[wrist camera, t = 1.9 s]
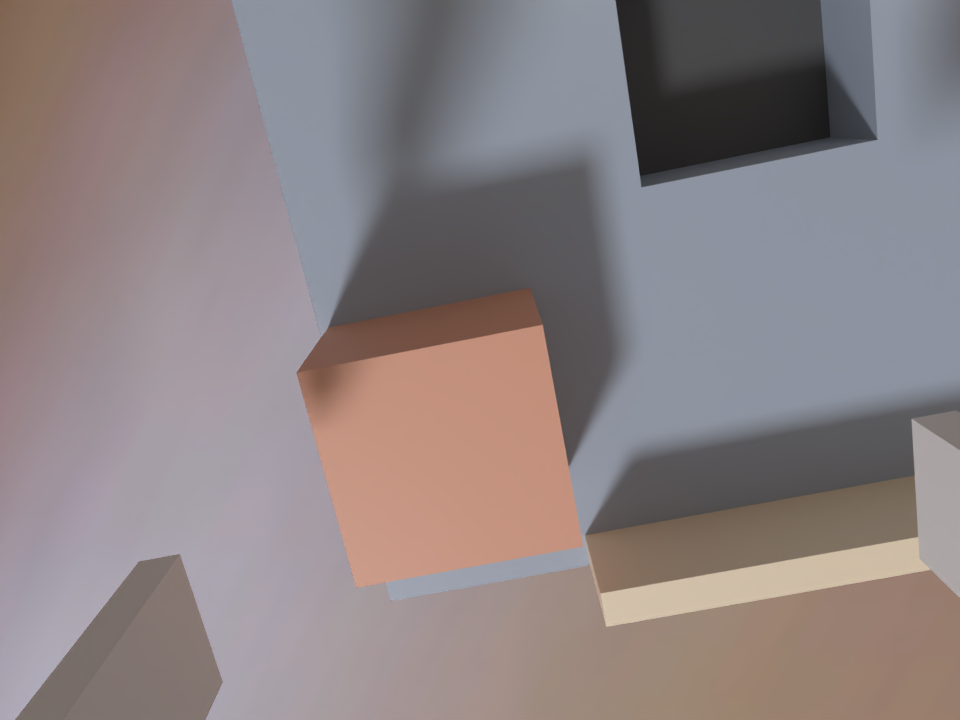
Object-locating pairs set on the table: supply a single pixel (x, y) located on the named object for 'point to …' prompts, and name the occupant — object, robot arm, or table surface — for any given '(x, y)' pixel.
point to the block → (441, 438)
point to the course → (656, 253)
